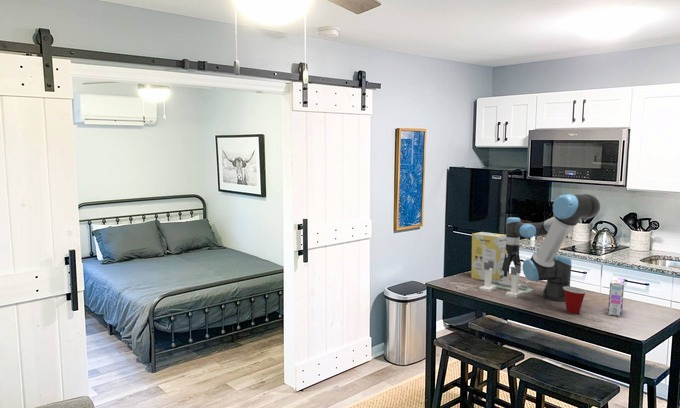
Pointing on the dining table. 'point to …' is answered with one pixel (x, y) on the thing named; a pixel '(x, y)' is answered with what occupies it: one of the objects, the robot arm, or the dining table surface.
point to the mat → (510, 288)
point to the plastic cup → (573, 299)
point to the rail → (509, 284)
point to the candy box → (616, 296)
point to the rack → (490, 287)
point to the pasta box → (488, 254)
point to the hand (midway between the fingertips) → (511, 280)
